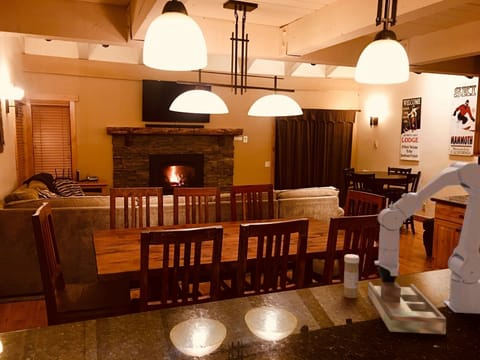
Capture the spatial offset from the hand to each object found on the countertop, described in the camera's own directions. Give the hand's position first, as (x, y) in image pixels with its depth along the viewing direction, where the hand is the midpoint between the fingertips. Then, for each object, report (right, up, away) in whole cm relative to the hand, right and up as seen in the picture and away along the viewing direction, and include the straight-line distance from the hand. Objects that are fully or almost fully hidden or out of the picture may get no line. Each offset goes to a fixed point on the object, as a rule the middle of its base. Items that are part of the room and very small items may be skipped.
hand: (387, 291), depth 121 cm
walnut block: (0, -1, -4) cm, 4 cm away
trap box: (+2, -5, -5) cm, 7 cm away
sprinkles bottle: (-9, -4, +7) cm, 12 cm away
